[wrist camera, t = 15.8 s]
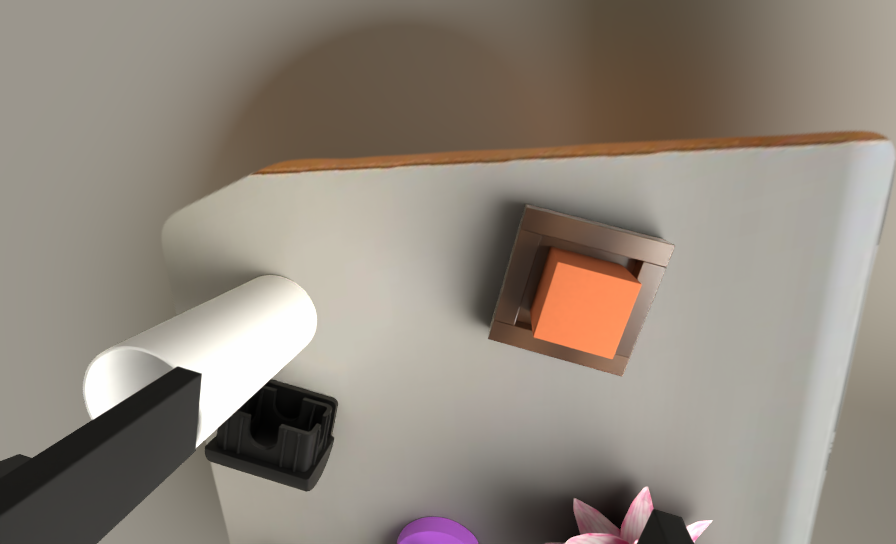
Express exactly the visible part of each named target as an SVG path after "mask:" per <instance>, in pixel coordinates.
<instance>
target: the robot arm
mask: <svg viewBox="0 0 896 544" xmlns="http://www.w3.org/2000/svg"><path fill="white" fill-rule="evenodd" d="M201 379H202V373H199V372H195V371H192V370H189V369H185V368H182V367H179V366H177V367H176V368H174V369H172V370H171V371H169V372H168V373H166V374H165V375H163V376H161V377H160V378H158V379H157V380H155V381H153V382H152V383H150V384H149V385H147V386H146V387H144V388H142V389H141V390H139V391H138V392H136V393H134V394H133V395H131V396H130V397H128V398H127V399H125V400H123V401H122V402H120V403H119V404H117V405H115V406H114V407H112V408H111V409H109V410H108V411H106V412H104V413H103V414H101V415H100V416H98V417H96V418H95V419H93V420H92V421H90V422H89V423H87V424H85V425H84V426H82V427H81V428H79V429H77V430H76V431H74V432H73V433H71V434H70V435H68V436H66V437H65V438H63V439H62V440H60V441H58V442H57V443H55V444H54V445H52V446H51V447H49V448H47V449H46V450H45V451H43V452H41V453H39V454H38V455H37V456H35V457H33V458H30V457H27V456H24V455H21V454H19V455H16V456H13V457H10V458H8V459H5V460H2V461H0V544H97V543H98V542H99V541H100V540H101V539H102V538H103V537H104V536H105V535H107V533H108V532H110V531H111V530H112V529H113V528H114V527H115V526H116V525H117V524H118V523H119V522H120V521H121V520H122V519H124V518H125V517H126V516H127V515H128V514H129V513H130V512H131V511H132V510H133V509H134V508H135V507H136V506H137V505H138V504H140V503H141V502H142V501H143V500H144V499H145V498H146V497H147V496H148V495H149V494H150V493H151V492H152V491H153V490H154V489H155V488H157V487H158V486H159V485H160V484H161V483H162V482H163V481H164V480H165V479H166V478H167V477H168V476H169V475H170V474H172V473H173V472H174V471H175V470H176V469H177V468H178V467H179V466H180V465H181V464H182V463H183V462H184V461H185V460H186V459H187V458H188V457H190V456H191V455H192V454H193V453H194V452H195V451H196V440H197V428H198V416H199V404H200V391H201ZM637 544H694V542H693V540H692V538H691V536H690V534H689V532H688V530H687V528H686V526H685V524H684V521H683V519H682V517H678V516H675V515H672V514H668V513H665V512H662V511H658V510H655V509H653V510H652V512H651V514H650V517H649V519H648V521H647V523H646V525H645V527H644V529H643V531H642V533H641V535H640V538H639V540H638V542H637Z"/></svg>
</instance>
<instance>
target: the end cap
mask: <svg viewBox="0 0 896 544" xmlns="http://www.w3.org/2000/svg"><path fill="white" fill-rule="evenodd" d="M337 406H338V402H337V400H336V399H334V398H332V397H328V396H325V395H322V394H318V393H315V392H311V391H308V390H305V389H301V388H298V387H294V386H291V385H288V384H284V383H281V382H277V381H274V380H271V379H270V380H269V381H268V382H267V383H266V384H265V385H264V386H263V387H262V388H260V389H259V390H258V391H257V392H256V393H255V394H254V395H253V396H252V397H251V398H250V399H249V400H247V401H246V402H245V403H244V404H243V405H242V406H241V407H240V408H239V409H238V410H237V411H236V412H234V413H233V414H232V415H231V416H230V417H229V418H228V419H227V420H226V421H225V422H224V423H223V424H222V425H220V426H219V427H218V430H217V436H216V437H215V438H214V439H212V440H211V441H210V442H209V443H208V444H207V445H206V446H205V455H206V457H207V459H208V460H209V461H211V462H214V463H217V464H220V465H223V466H226V467H230V468H233V469H236V470H239V471H242V472H246V473H249V474H252V475H255V476H259V477H262V478H265V479H268V480H271V481H275V482H278V483H281V484H284V485H287V486H291V487H294V488H297V489H300V490H303V491H310V490H311V489H313V488H314V486H315V485H316V483H317V482H318V480H319V478H320V477H321V475H322V473H323V470H324V468H325V466H326V463H327V461H328V458H329V455H330V452H331V449H332V445H333V441H334V437H333V436H332V432H333V428H334V422H335V417H336V412H337Z"/></svg>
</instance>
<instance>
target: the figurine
mask: <svg viewBox="0 0 896 544" xmlns="http://www.w3.org/2000/svg"><path fill="white" fill-rule="evenodd" d="M397 544H479V543H478V541H477V539H476V538H475V536H474V535H473V534H472V533H471V532H470V531H469V530H468V529H467V528H465V527H464V526H462V525H461V524H459V523H457V522H455V521H452V520H450V519H446V518H442V517H424V518H420V519H417V520H415V521H413V522H411V523H409V524H408V525H407V526H406V527H405V528H404V529H403V530H402V532H401V533H400V535H399V538H398V540H397Z"/></svg>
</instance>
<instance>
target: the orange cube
mask: <svg viewBox="0 0 896 544" xmlns="http://www.w3.org/2000/svg"><path fill="white" fill-rule="evenodd" d="M641 286H642V284H641V283H640V282H639V281H638V280H637V279H636V278H635V277H634V276H633V275H632V274H631V273H630V272H629V271H628V270H627V269H626V268H625V267H623V266H622V265H620V264H616V263H612V262H608V261H605V260H601V259H597V258H593V257H589V256H586V255H582V254H578V253H574V252H570V251H567V250H563V249H559V248H555V247H550V250H549V253H548V256H547V259H546V262H545V265H544V268H543V272H542V275H541V278H540V281H539V284H538V287H537V290H536V294H535V297H534V300H533V303H532V306H531V309H530V317H531V324H532V332H533V337H534V338H538V339H541V340H545V341H549V342H552V343H556V344H559V345H563V346H567V347H570V348H574V349H577V350H581V351H584V352H588V353H592V354H595V355H599V356H602V357H606V358H609V359H613V357H614V354H615V352H616V349H617V347H618V344H619V342H620V339H621V337H622V334H623V331H624V329H625V326H626V324H627V321H628V319H629V316H630V314H631V311H632V309H633V306H634V303H635V301H636V298H637V296H638V293H639V291H640V288H641Z"/></svg>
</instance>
